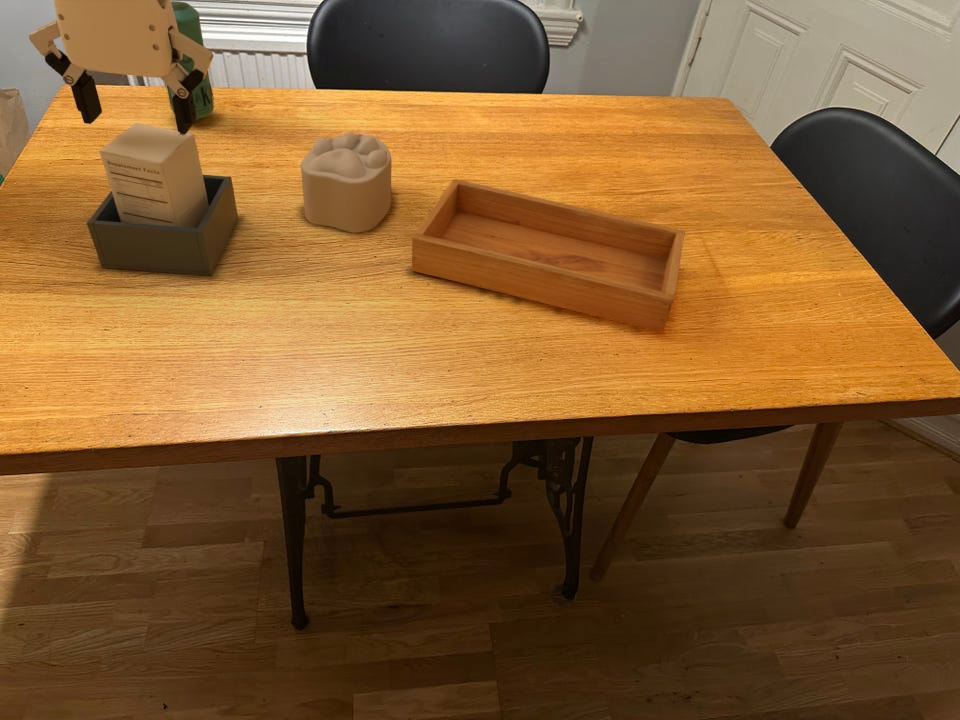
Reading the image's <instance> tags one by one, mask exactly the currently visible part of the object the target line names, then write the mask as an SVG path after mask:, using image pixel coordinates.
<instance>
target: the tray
mask: <svg viewBox="0 0 960 720" xmlns="http://www.w3.org/2000/svg"><path fill="white" fill-rule="evenodd" d="M685 235H686V231H685V230H682V229H679V228H674V227H669V226H665V225H661V224H657V223H653V222H647V221H642V220H638V219H634V218H629V217H625V216H621V215H616V214H612V213H607V212H603V211H600V210H599V211H598V210H594V209H589V208H585V207H580V206H577V205H572V204H567V203H563V202H559V201H554V200H549V199H545V198H541V197H536V196H531V195H528V194H523V193H519V192H514V191H509V190H505V189H502V188H498V187H493V186H488V185H483V184H480V183H475V182H470V181H466V180H463V179H456V178H453V179H452V180H451V182H450V183H449V184H448V186H447V187H446V188H445V190H444V192H443V193H442V194H441V195H440V197H439V198H438V200H436V203H435V204H434V206H433V207H432V208H431V210H430V211H429V212H428V214H427V215H426V217H425V218H424V220H423V221H422V222H421V224H420V226H419V227H418V228H417V229H416V231H415V232H414V233H413V235H412V239H411V245H412V246H411V271H413V272H415V273H420V274H425V275H428V276H433V277H437V278H440V279H445V280H449V281H452V282H457V283H461V284H465V285H469V286H473V287H477V288H482V289H486V290H490V291H494V292H498V293H502V294H506V295H510V296H514V297H517V298H521V299H524V300H525V299H526V300H529V301H535V302H538V303H541V304H546V305H550V306H553V307H559V308H562V309H566V310H570V311H573V312H574V311H575V312H578V313H583V314H587V315H590V316H594V317H598V318H602V319H606V320H610V321H613V322H614V321H615V322H619V323H623V324H627V325H631V326H635V327H638V328H643V329H646V330H650V331H654V332H658V333H663V332H664V329H665V327H666V324H667V321H668V319H669V315H670V312H671V309H672V306H673V303H674V300H675V294H676V288H677V284H678V283H677V282H678V277H679V271H680V265H681V259H682V254H683V253H682V252H683V247H684V240H685Z"/></svg>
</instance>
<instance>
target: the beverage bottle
mask: <svg viewBox="0 0 960 720" xmlns="http://www.w3.org/2000/svg"><path fill="white" fill-rule="evenodd" d="M170 1H171V4H172V8H173V11H174V15H175V19H176V23H177V27H178V31H179V32H180V33H181V34H183V35H185V36H186V37H188V38H190V39H192V40H193V41H195V42H197V43H198V44H200V45H202V46H203V47H205V48H206V46H205V45H204V39H203V32H202V25H201V20H200V13H199V11H198V10H197V9H196V8H194V7H193V6H192V5H191V4H189V3H188V2H184V1H180V0H170ZM178 63H179V64H180V65H181V66H182V67H183V68H184V69H185V70H186V71H187V72H188V73H190V72H191V71H192V70H193V67H194V61H193V59H191V58H190V57H188V56H186V55H185V54H183V57H182V60H181V61H180V62H178ZM209 71H210V70H208V71H207V75H206V76H205V78H204V79H203V80H202V82H201V83H200V84H199V85H198V86H197V87H196V88H195V89H194V90H193V91H192V92H193V98H194V104H195V110H196V119H202V118H205V117H209V116H210V115H212V114H213V112H214V109H215V106H216V105H215V103H214V101H215V98H214V93H213V92H214V91H213V87H212V83H211V81H212V80H211V79H210V76H211V75H210V72H209ZM164 85H165V87H166V89H165V91H166V92H167V97H168V99H167V100H168V101H169V106H170V107H169V108H170V109H171V111H172V113H173V114H174V115H175V113H174V108H173V103H172V98H173V97H174V95H175V92H174V91H173V90H172V89H171V88H170V87H169V86H168V85H167V84H166V83H164Z"/></svg>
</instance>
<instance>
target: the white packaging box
mask: <svg viewBox="0 0 960 720" xmlns="http://www.w3.org/2000/svg"><path fill="white" fill-rule="evenodd" d="M195 136H196V135H195V134H194V133H191V132H189V131H188V132H187V133H186V134H180V132H178V129H172V128H166V127H162V126H161V127H160V126H155V125H149V124H144V123H138V122H137V123H136V122H135V123H133V124H132V125H131V126H130V127H128V128H127V129H126V130H124V131H123V132H122V133H120V134H119V135H118V136H117V137H115V138H114V139H113V140H111V141H109V143H107V144H106V145H104V146H103V147H102V148H100V149H99V150H98V152H99V154H100V158H101V161H102V165H103V167H104V171H105V175H106V177H107V180H108V185H109V187H110V192H111V191H112V194H113V197H114V200H115V204H116V207H117V210H118V213H119V217H120V220H121V222H122V223H134V224H147V225H160V226H173V227H186V228H197V229H198V227H199V225H200V223H201V221H202V219H203V218H204V216H205V214H206V212H207V210H208V208H209V204H208V199H207V194H206V189H205V184H204V179H203V175H204V174H203V170H202V166H201V160H200V156H199V151H198V146H197V141H196V137H195ZM202 174H203V175H202Z"/></svg>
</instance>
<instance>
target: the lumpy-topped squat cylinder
mask: <svg viewBox="0 0 960 720" xmlns="http://www.w3.org/2000/svg"><path fill="white" fill-rule="evenodd" d="M392 166H393V165H392V155H391V152H390V149H389V147H388V146H387V144H385V142H383V141H382V140H381V139H379V138H378V137H376V136H374V135H369V134H361V133H354V132H347V133H344V134H343V135H338V136H334V137H329V138H326V137H319V138H317V139H316V140H315V141H314V143H313V145H312V148H311V150H310V151H309V152H308V153H307V154H306V155H305V156H304V157H303V159H302V160H301V162H300V173H301V186H302V196H303V197H302V199H303V209H304V217H305V218H306V220H307V221H308V222H309V223H312V224H314V225H318V226H325V227H332V228H335V229H339V230H341V231H344V232H349V233H355V234H358V233H359V234H360V233H364V232H369V231H370V230H372V229H374V228H376V227H377V226H378V224H380V223H381V222H382V221H383V219H384V218H385V217H386V215H387V214H388V212H389V211H390V209H391V206H392V168H393V167H392Z"/></svg>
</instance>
